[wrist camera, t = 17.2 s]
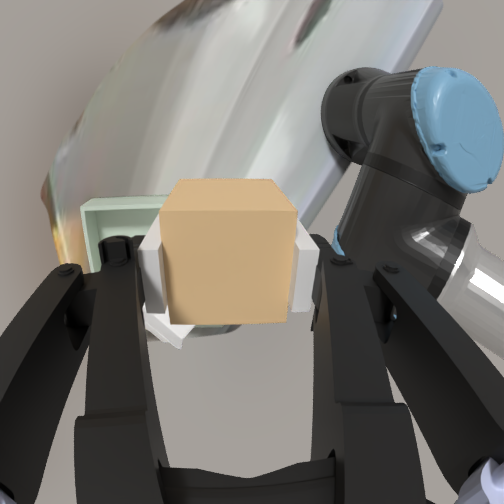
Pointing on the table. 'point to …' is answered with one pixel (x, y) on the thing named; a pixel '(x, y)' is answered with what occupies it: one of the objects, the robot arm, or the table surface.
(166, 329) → the milk
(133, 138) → the table surface
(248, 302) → the box
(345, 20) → the table surface
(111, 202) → the tray
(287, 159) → the table surface
